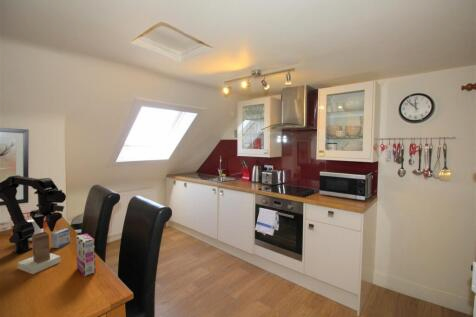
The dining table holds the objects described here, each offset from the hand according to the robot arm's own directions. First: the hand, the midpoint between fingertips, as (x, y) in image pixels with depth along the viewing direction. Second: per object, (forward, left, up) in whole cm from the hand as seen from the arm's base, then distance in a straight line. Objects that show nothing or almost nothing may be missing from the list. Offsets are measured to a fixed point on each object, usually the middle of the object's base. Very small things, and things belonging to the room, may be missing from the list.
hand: (46, 230), depth 128 cm
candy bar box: (+35, -3, -13) cm, 38 cm away
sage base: (+10, -9, -13) cm, 19 cm away
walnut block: (+12, -9, -10) cm, 18 cm away
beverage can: (-28, +8, -13) cm, 32 cm away
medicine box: (-4, +9, -13) cm, 17 cm away
